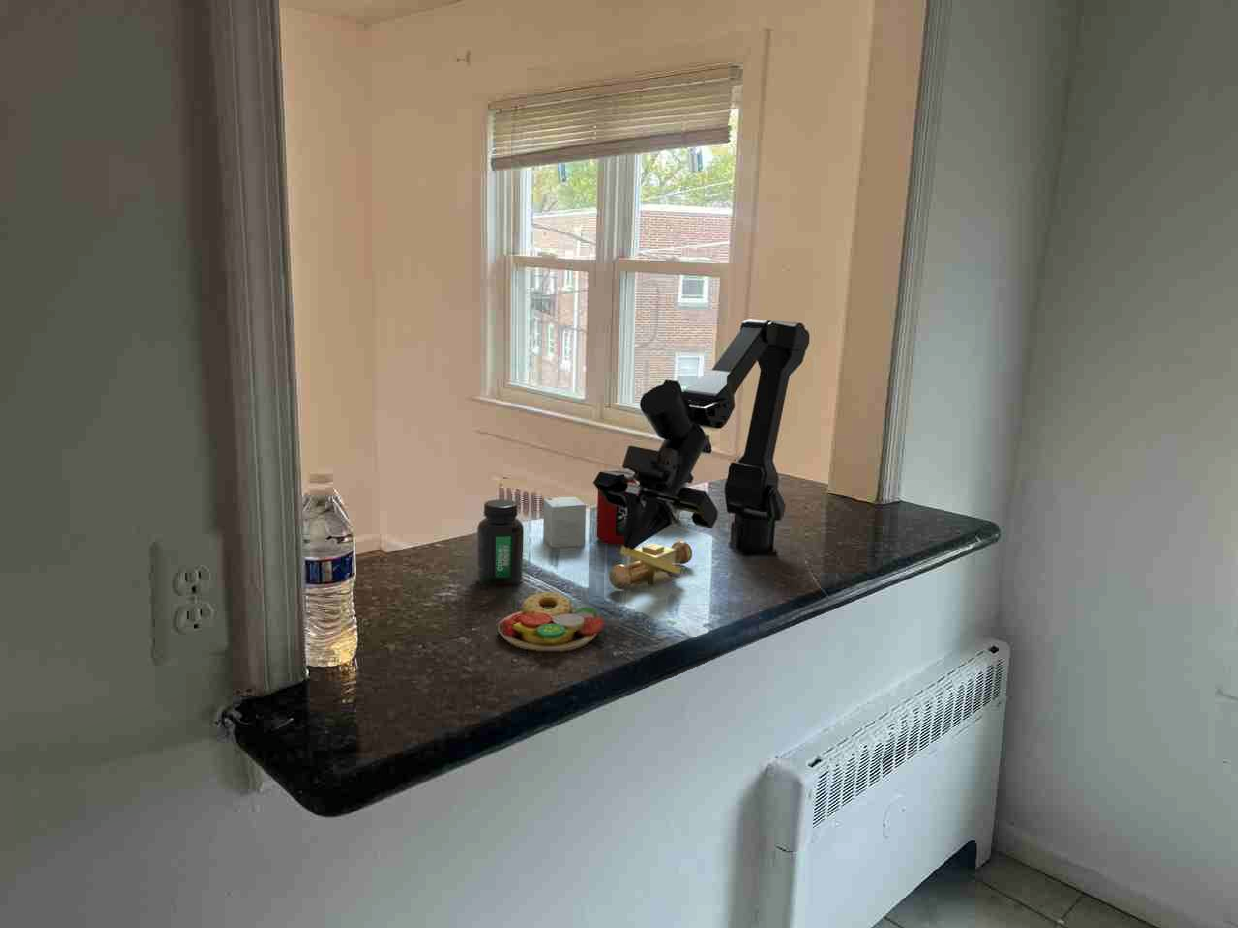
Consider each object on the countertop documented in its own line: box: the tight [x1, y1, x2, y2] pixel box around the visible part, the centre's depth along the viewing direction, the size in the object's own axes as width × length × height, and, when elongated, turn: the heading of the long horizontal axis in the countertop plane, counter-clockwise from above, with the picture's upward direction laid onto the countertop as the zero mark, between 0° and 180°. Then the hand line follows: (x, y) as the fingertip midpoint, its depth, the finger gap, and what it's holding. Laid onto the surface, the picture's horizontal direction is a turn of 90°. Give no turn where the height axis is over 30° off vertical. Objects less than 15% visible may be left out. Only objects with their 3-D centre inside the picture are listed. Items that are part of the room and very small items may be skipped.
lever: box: [619, 545, 683, 579], centre depth 131 cm, size 2×3×14 cm
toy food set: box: [498, 591, 605, 652], centre depth 116 cm, size 13×13×3 cm
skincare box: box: [542, 496, 587, 549], centre depth 154 cm, size 6×6×7 cm
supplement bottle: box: [476, 498, 525, 588], centre depth 134 cm, size 7×7×12 cm
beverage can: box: [596, 470, 638, 546], centre depth 155 cm, size 7×7×12 cm
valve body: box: [609, 540, 693, 592], centre depth 138 cm, size 18×5×5 cm, turn 142°
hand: (627, 547), depth 125 cm, fingers closed
